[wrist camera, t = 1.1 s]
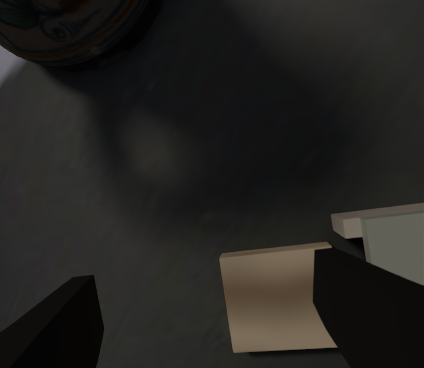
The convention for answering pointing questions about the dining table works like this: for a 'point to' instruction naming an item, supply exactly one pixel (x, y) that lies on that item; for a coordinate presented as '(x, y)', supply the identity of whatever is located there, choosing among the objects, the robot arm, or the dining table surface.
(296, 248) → the tile
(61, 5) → the beer stein
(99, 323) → the robot arm
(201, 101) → the dining table surface
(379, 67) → the dining table surface
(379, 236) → the bridge
